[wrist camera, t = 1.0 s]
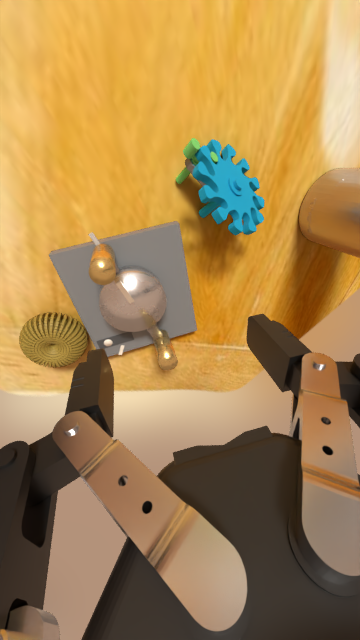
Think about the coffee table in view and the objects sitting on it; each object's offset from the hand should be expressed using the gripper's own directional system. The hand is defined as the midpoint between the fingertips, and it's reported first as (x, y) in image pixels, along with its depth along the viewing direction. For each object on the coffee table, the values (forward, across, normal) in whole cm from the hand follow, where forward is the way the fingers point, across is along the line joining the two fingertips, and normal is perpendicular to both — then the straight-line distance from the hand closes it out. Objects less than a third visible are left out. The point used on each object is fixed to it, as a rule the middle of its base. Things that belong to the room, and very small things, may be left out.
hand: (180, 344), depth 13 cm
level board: (+20, +2, +6) cm, 21 cm away
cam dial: (+18, +2, +6) cm, 20 cm away
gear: (+20, -10, -6) cm, 23 cm away
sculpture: (+20, +14, +10) cm, 26 cm away
